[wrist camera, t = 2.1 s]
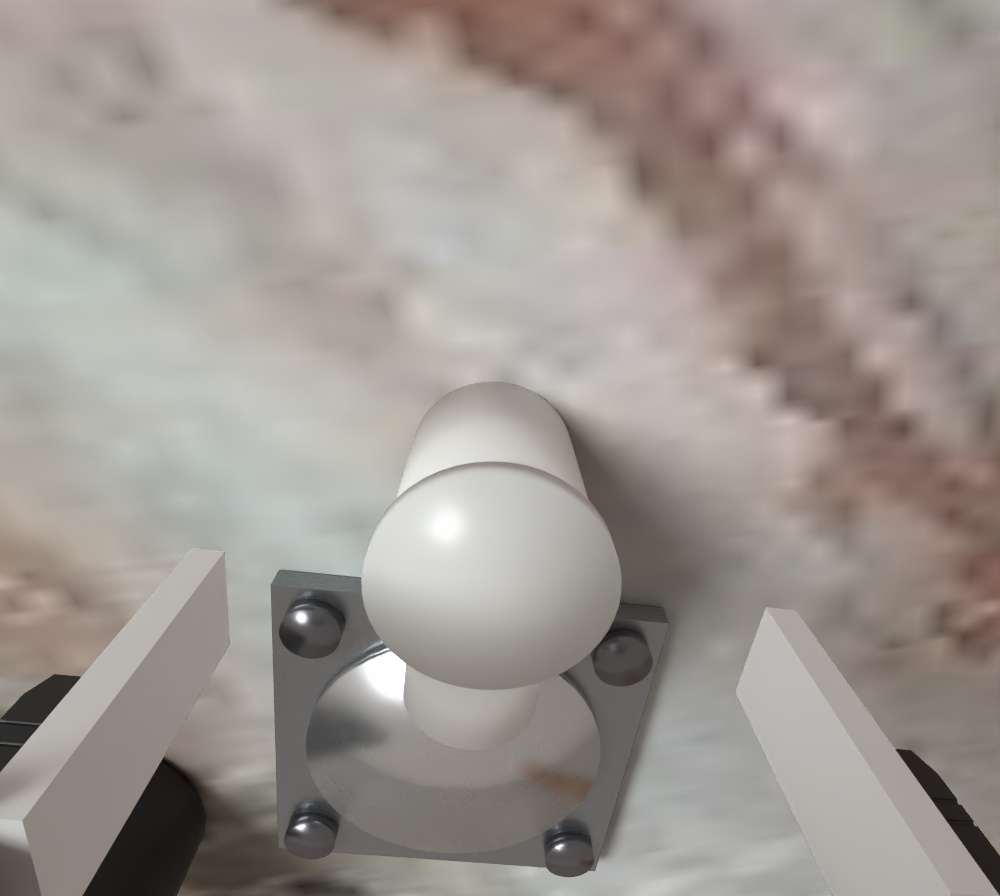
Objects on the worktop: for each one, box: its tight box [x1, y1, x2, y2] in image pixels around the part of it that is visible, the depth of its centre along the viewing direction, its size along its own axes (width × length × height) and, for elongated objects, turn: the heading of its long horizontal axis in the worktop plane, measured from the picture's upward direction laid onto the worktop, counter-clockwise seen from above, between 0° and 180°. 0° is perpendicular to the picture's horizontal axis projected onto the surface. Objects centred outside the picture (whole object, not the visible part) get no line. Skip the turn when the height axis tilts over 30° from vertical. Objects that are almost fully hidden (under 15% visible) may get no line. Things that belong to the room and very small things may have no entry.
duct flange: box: [271, 570, 669, 877], centre depth 28 cm, size 16×16×2 cm
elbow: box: [361, 382, 622, 750], centre depth 20 cm, size 9×7×8 cm
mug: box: [83, 761, 205, 896], centre depth 26 cm, size 9×12×9 cm
